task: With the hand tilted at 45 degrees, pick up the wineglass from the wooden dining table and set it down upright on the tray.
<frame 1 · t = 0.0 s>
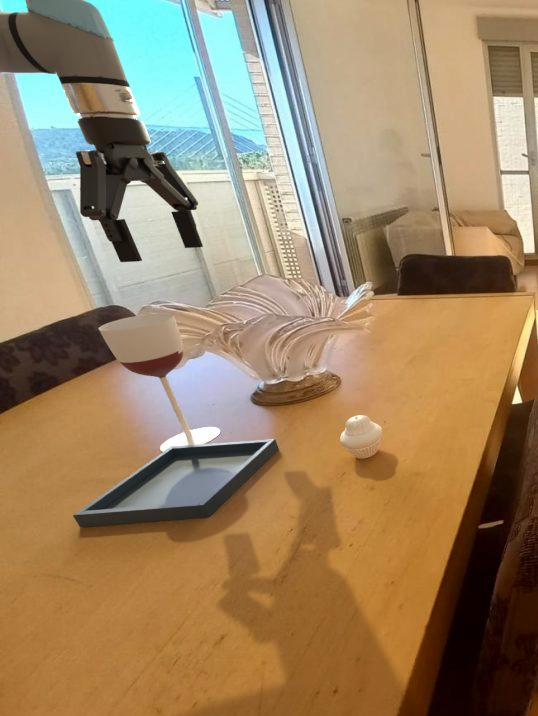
hand: (165, 254, 83), 31 cm above the table, tool pointing down, fingers open, 13 cm apart
muffin: (367, 454, 78), on the table
wineglass: (191, 440, 84), on the table
tray: (190, 484, 72), on the table
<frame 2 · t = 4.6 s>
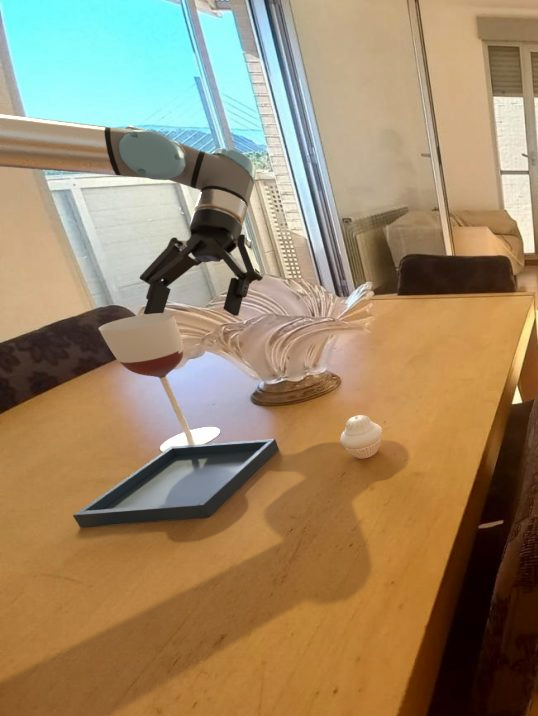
hand: (191, 314, 86), 20 cm above the table, tool tilted 45°, fingers open, 13 cm apart
nothing on the table moved.
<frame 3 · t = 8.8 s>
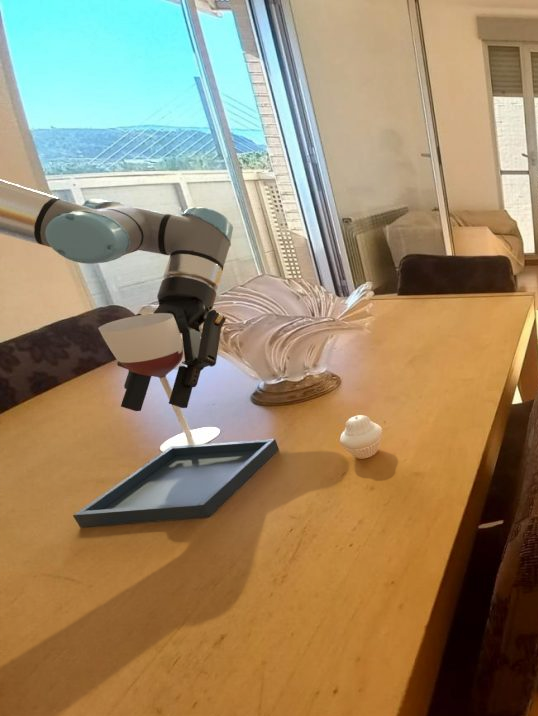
hand: (154, 407, 77), 8 cm above the table, tool tilted 45°, fingers closed on wineglass, 7 cm apart
wineglass: (191, 440, 84), on the table, touching gripper
everything else where it was.
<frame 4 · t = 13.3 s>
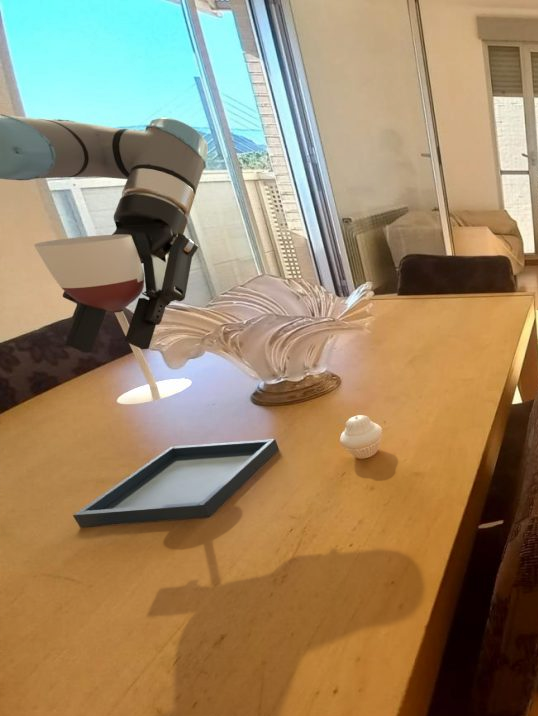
hand: (107, 346, 63), 22 cm above the table, tool tilted 45°, fingers closed on wineglass, 7 cm apart
wineglass: (156, 392, 70), point 14 cm above the table, touching gripper
everything else where it was.
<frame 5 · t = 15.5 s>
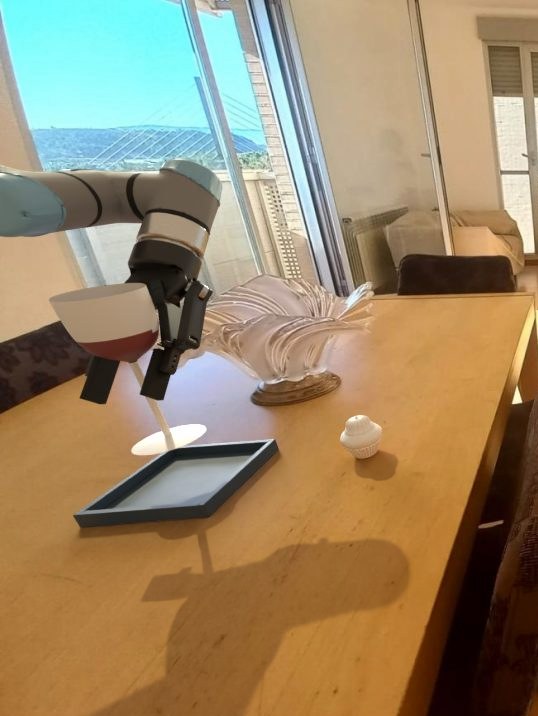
hand: (122, 399, 62), 16 cm above the table, tool tilted 45°, fingers closed on wineglass, 7 cm apart
wineglass: (170, 440, 69), point 8 cm above the table, touching gripper
everything else where it was.
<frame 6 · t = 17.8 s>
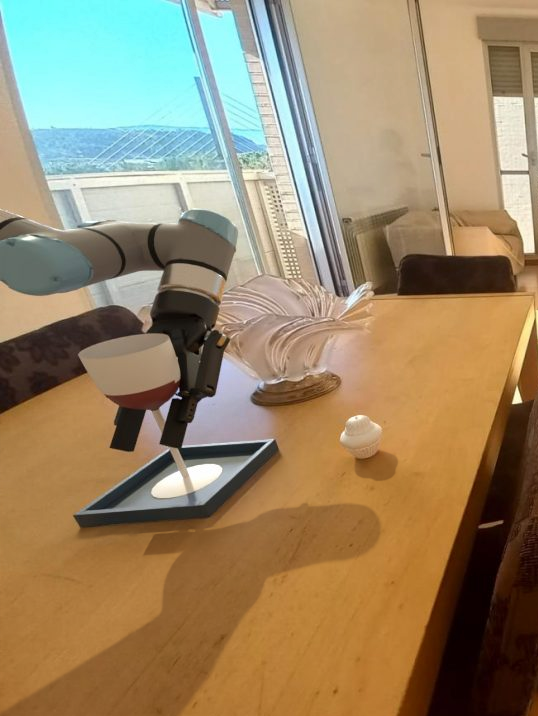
hand: (146, 447, 65), 9 cm above the table, tool tilted 45°, fingers closed on wineglass, 6 cm apart
wineglass: (188, 481, 72), resting on tray, touching gripper
everything else where it was.
when the fingers open (9 cm above the table, at t = 17.9 s): wineglass stays where it is, resting on tray.
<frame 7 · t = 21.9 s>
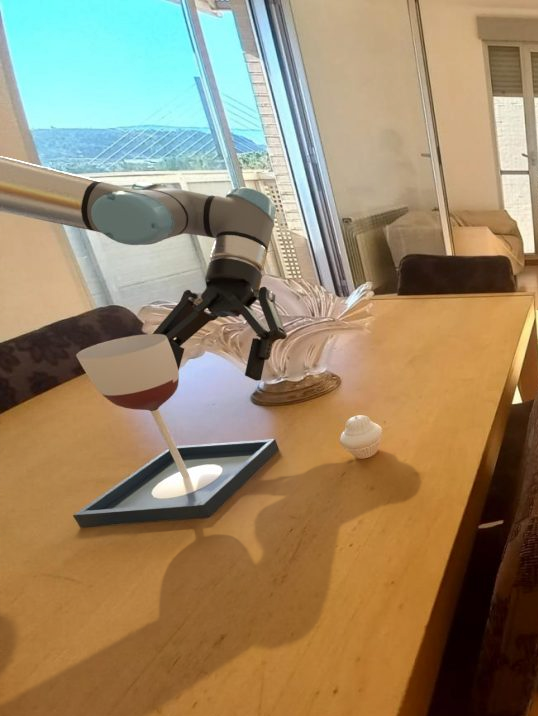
hand: (209, 380, 77), 12 cm above the table, tool tilted 45°, fingers open, 13 cm apart
wineglass: (188, 481, 72), resting on tray
everything else where it was.
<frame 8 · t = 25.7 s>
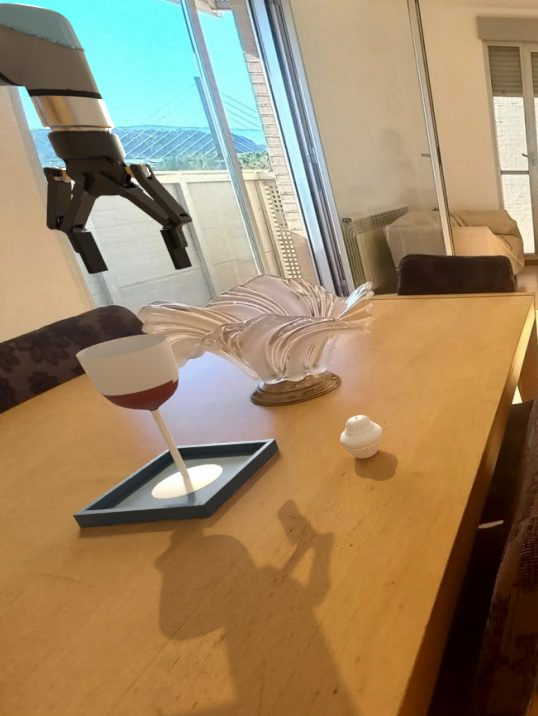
hand: (141, 270, 80), 29 cm above the table, tool pointing down, fingers open, 13 cm apart
nothing on the table moved.
at the end: wineglass inside the target area in the tray (0.2 cm from its centre), point 0.4 cm above the tray's base; wineglass tilted 0°; the gripper is holding nothing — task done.
